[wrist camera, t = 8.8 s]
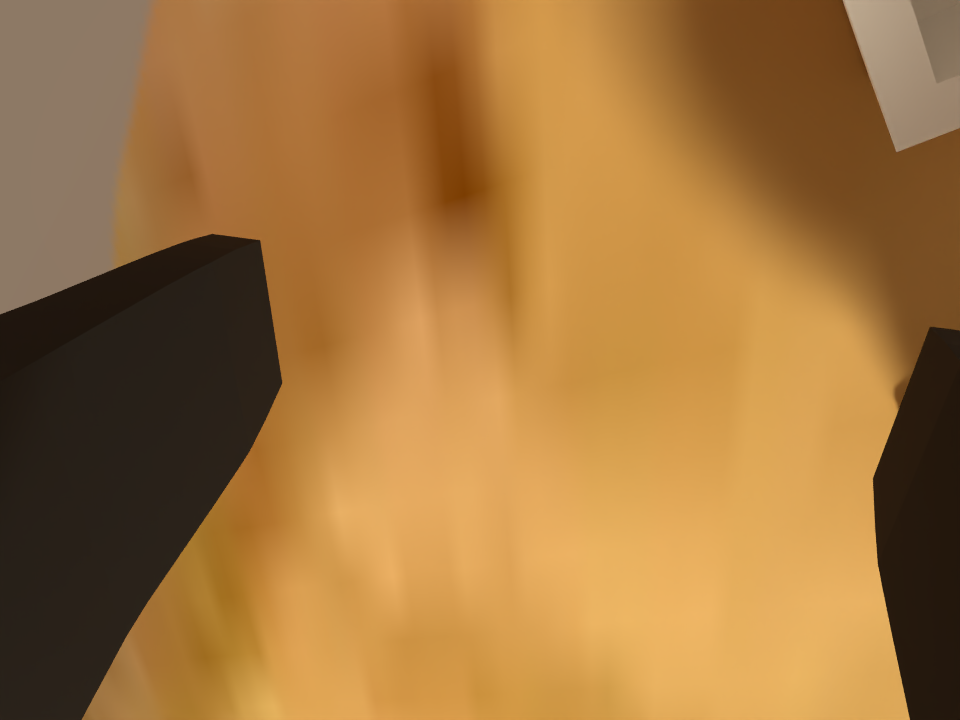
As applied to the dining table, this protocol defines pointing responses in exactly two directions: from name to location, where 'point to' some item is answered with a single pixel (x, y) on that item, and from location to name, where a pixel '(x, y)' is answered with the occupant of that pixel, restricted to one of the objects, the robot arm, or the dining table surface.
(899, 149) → the bin
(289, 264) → the dining table surface
